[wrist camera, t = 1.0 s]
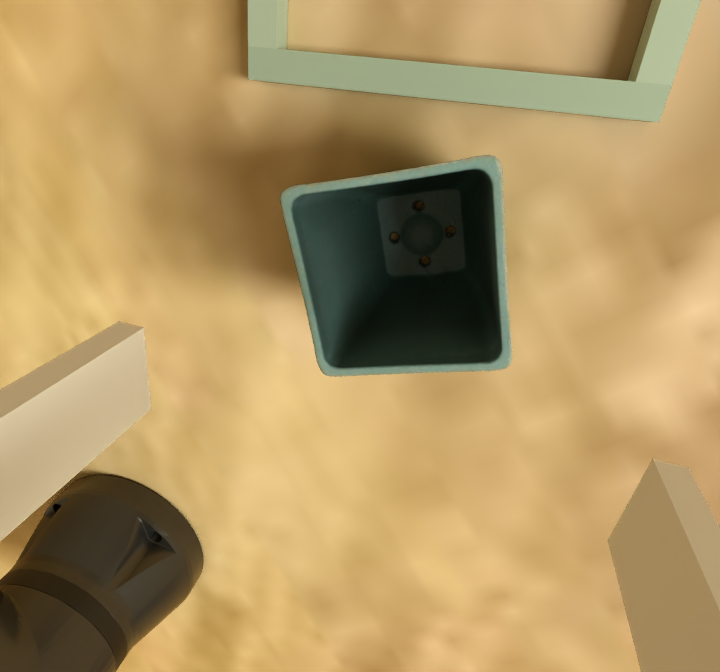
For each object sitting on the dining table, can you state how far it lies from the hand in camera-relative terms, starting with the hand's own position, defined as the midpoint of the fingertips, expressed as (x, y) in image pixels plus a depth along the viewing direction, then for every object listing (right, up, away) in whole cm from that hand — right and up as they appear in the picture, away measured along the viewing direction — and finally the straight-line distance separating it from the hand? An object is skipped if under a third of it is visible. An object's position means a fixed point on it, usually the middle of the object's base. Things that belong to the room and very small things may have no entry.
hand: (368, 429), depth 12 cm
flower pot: (+3, +8, +15) cm, 18 cm away
